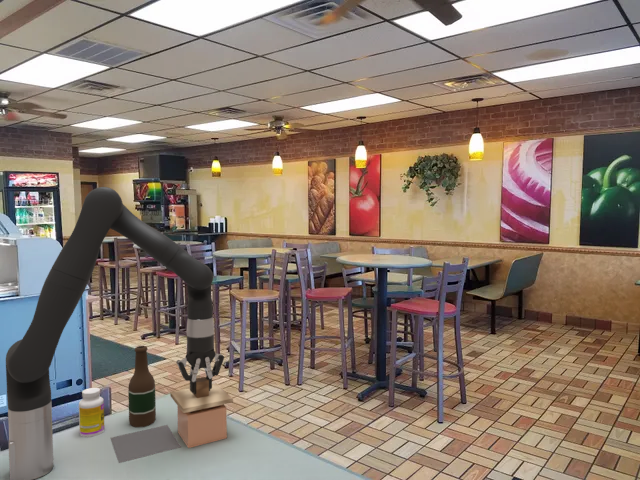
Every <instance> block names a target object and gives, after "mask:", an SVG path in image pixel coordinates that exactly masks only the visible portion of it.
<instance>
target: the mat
mask: <svg viewBox="0 0 640 480" xmlns="http://www.w3.org/2000/svg"><path fill="white" fill-rule="evenodd" d="M170 428H171V427H170V426H169V425H168V424H164V425H161V426H156V427H151V428H147V429H142V430H138V431H135V432H130V433H125V434H121V435H117V436H112V437H110V441H111V445H112V447H113V450H114V453H115V456H116V458H117V459H116V460H117V462H118V464H121V463H125V462H129V461H132V460H137V459H141V458H144V457H147V456H148V457H149V456H153V455H157V454H160V453H163V452H167V451H171V450H176V449H179V448H182V445H181V444H180V442H179V441H178V440H177V438H176V436H175V435H174V433H173V431H172V429H170Z"/></svg>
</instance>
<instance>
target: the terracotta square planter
mask: <svg viewBox="0 0 640 480" xmlns="http://www.w3.org/2000/svg"><path fill="white" fill-rule="evenodd" d="M176 405H177V404H176ZM176 410H177V433H178V435H179V437H181V440H182V441H183V442H184V444H185V445H186V447H187V449H191V448H194V447H197V446H201V445H206V444H210V443H213V442H216V441H220V440H225V439H228V434H227V433H228V432H227V427H228V425H227V419H228V418H227V406H226V404H223V405H219V406H214V407H210V408H205V409H201V410H202V411H200V410H196V411H191V412H187V413H183V412H182V411H181V409H180V408H179V407H178V405H177V409H176ZM199 411H200V412H199Z"/></svg>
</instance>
